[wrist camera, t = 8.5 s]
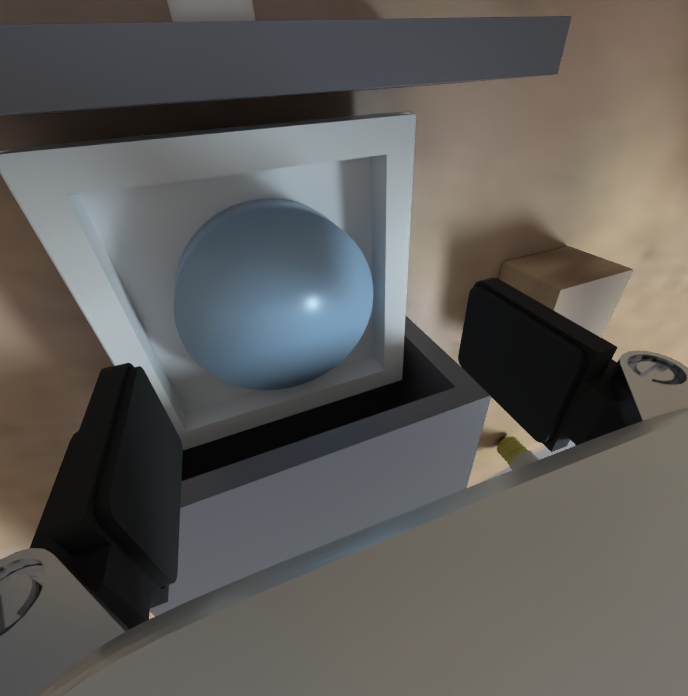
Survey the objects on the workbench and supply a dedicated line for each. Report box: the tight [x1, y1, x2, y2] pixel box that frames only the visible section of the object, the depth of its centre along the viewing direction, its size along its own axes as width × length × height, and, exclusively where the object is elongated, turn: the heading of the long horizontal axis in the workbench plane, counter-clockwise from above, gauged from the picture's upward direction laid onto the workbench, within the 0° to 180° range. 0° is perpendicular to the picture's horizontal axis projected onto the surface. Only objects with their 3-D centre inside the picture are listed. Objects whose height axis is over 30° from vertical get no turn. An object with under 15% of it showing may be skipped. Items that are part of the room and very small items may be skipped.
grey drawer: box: [0, 0, 571, 450], centre depth 11 cm, size 15×14×6 cm
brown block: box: [499, 246, 633, 338], centre depth 20 cm, size 5×5×4 cm
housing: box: [150, 316, 491, 616], centre depth 19 cm, size 15×13×7 cm
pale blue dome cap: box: [174, 198, 373, 390], centre depth 13 cm, size 7×7×2 cm
